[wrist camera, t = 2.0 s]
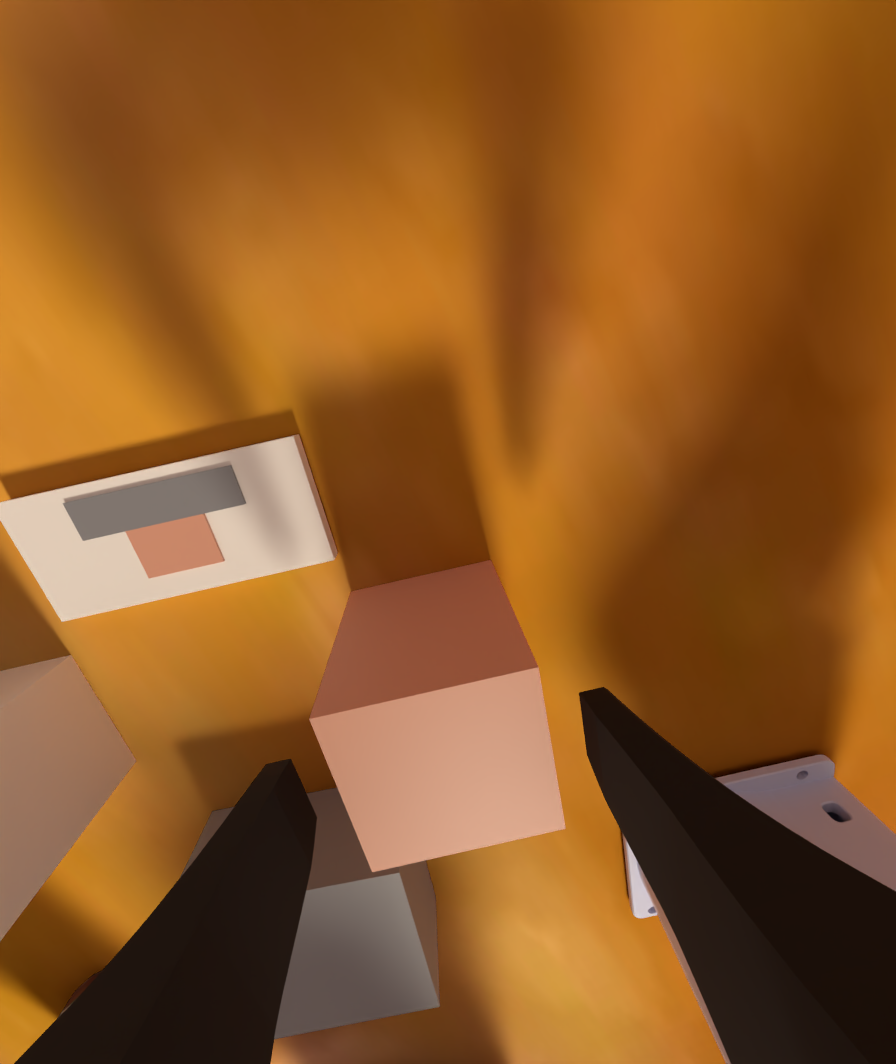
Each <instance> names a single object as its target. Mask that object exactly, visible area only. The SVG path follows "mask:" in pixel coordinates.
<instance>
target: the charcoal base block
mask: <svg viewBox="0 0 896 1064" xmlns="http://www.w3.org/2000/svg"><path fill="white" fill-rule="evenodd" d="M307 796H308V798H309V800H310V802H311V805H312V807H313V809H314V811H315V813H316V816H317V824H316V833H315V843H314V851H313V858H312V866H311V871H310V876H309V880H308V885H307V890H306V894H305V899H304V903H303V908H302V912H301V916H300V921H299V925H298V929H297V934H296V938H295V942H294V947H293V951H292V956H291V960H290V964H289V969H288V973H287V977H286V982H285V986H284V991H283V995H282V1000H281V1005H280V1010H279V1015H278V1020H277V1025H276V1030H275V1036H274V1039H278V1038H283V1037H288V1036H293V1035H298V1034H303V1033H308V1032H313V1031H319V1030H324V1029H329V1028H334V1027H339V1026H344V1025H349V1024H354V1023H359V1022H365V1021H370V1020H375V1019H380V1018H385V1017H390V1016H395V1015H400V1014H405V1013H410V1012H416V1011H421V1010H426V1009H431V1008H436V1007H440V994H439V968H438V941H437V914H436V897H435V893H434V889H433V885H432V882H431V878H430V874H429V870H428V867H427V863H426V860H425V861H420V862H416V863H411V864H407V865H403V866H398V867H394V868H389V869H385V870H381V871H376V872H372V870H371V868H370V866H369V863H368V861H367V858H366V856H365V853H364V851H363V849H362V846H361V844H360V841H359V839H358V836H357V834H356V832H355V829H354V827H353V824H352V822H351V819H350V817H349V815H348V812H347V810H346V807H345V805H344V803H343V800H342V798H341V795H340V793H339V790H338V788H332V789H327V790H322V791H316V792H311V793H307ZM233 808H234V807H231V808H226V809H221V810H216V811H212V813H211V815H210V817H209V820H208V822H207V824H206V826H205V828H204V830H203V832H202V834H201V836H200V838H199V840H198V842H197V844H196V846H195V848H194V850H193V852H192V854H191V856H190V859H189V861H188V863H187V865H186V867H185V869H184V871H183V873H182V875H183V874H184V873H185V871H186V870H187V869H188V868H189V866H190V865H191V864H192V863H193V861H194V860H195V859H196V857H197V856H198V855H199V853H200V852H201V851H202V849H203V848H204V847H205V846H206V844H207V843H208V842H209V840H210V839H211V838H212V836H213V835H214V834H215V832H216V831H217V830H218V828H219V827H220V826H221V824H222V823H223V822H224V820H225V819H226V818H227V816H228V815H229V814H230V812H231V811H232V809H233ZM182 875H181V876H182ZM180 878H181V877H180Z"/></svg>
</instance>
